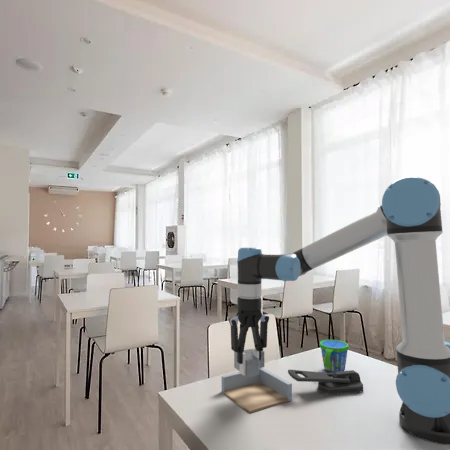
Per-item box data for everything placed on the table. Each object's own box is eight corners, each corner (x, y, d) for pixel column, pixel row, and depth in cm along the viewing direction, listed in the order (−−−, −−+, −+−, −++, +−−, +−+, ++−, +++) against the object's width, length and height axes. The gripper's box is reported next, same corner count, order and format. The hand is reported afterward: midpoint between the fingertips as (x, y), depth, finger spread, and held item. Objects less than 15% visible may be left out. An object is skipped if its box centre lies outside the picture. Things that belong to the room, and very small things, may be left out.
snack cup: (339, 380, 120) (338, 351, 121) (312, 373, 127) (311, 345, 128) (355, 368, 132) (355, 341, 132) (330, 361, 139) (329, 336, 139)
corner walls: (292, 399, 106) (291, 383, 106) (249, 413, 98) (249, 395, 98) (260, 381, 120) (260, 366, 120) (221, 391, 112) (221, 376, 112)
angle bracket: (258, 363, 114) (258, 348, 114) (272, 372, 106) (272, 356, 106) (234, 367, 110) (234, 351, 110) (247, 377, 102) (247, 360, 102)
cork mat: (288, 401, 105) (288, 399, 105) (249, 413, 98) (249, 411, 98) (259, 383, 118) (259, 381, 118) (223, 393, 111) (223, 391, 111)
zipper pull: (285, 368, 115) (351, 362, 120) (285, 388, 114) (351, 381, 120) (296, 379, 106) (367, 371, 111) (296, 400, 106) (367, 392, 111)
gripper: (266, 293, 113) (266, 364, 112) (219, 296, 106) (219, 372, 105) (279, 296, 106) (279, 372, 105) (230, 300, 99) (229, 382, 98)
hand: (249, 372), depth 105 cm, fingers closed on angle bracket, 4 cm apart
